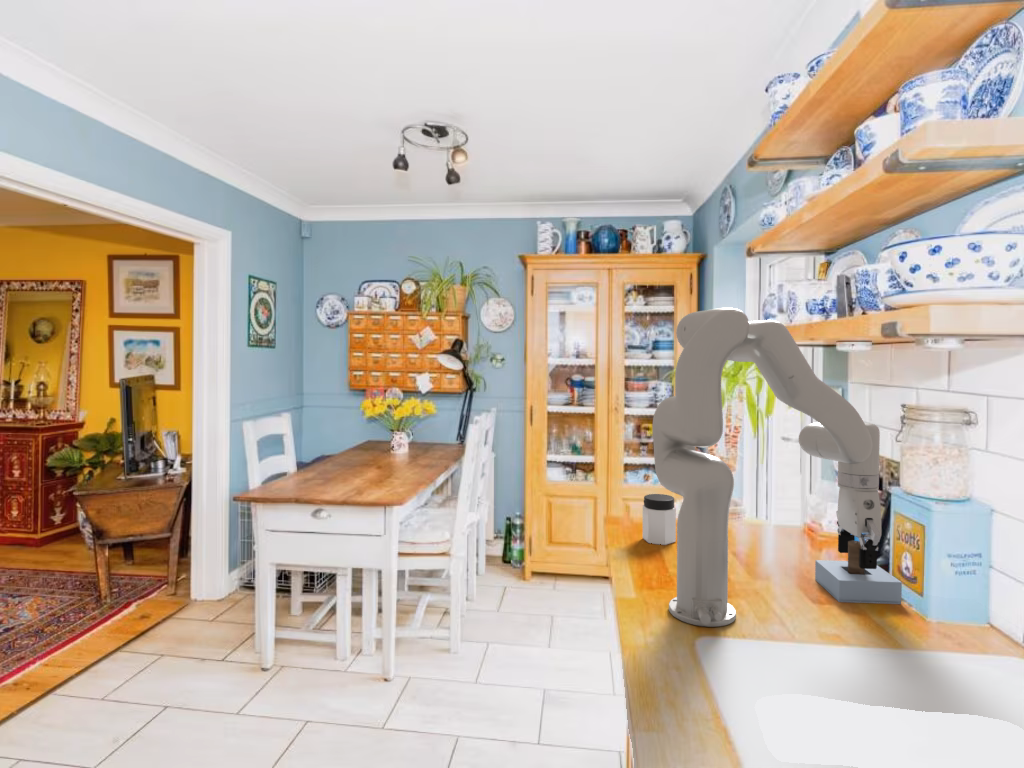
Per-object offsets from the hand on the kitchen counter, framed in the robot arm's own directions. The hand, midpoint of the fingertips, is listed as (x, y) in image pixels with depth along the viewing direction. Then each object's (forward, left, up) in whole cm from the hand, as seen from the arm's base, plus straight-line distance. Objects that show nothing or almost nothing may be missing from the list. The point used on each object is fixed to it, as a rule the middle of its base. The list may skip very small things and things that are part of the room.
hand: (856, 560), depth 124 cm
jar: (+32, +37, -7) cm, 49 cm away
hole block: (0, 0, -7) cm, 7 cm away
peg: (0, 0, -6) cm, 6 cm away
